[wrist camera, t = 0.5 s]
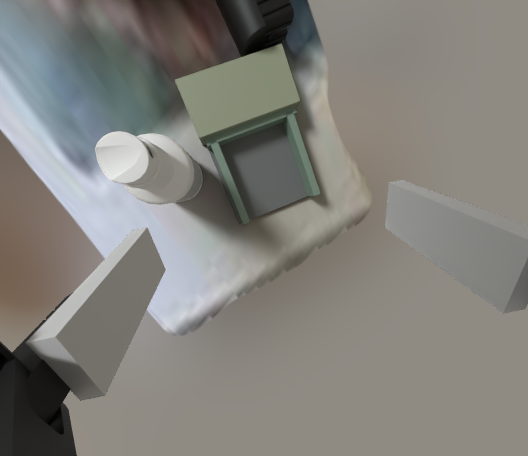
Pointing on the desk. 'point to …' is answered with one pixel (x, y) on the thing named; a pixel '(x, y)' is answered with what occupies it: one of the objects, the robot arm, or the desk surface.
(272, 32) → the end cap
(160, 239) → the desk surface
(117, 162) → the spray bottle
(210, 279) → the desk surface
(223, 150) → the chute bracket
